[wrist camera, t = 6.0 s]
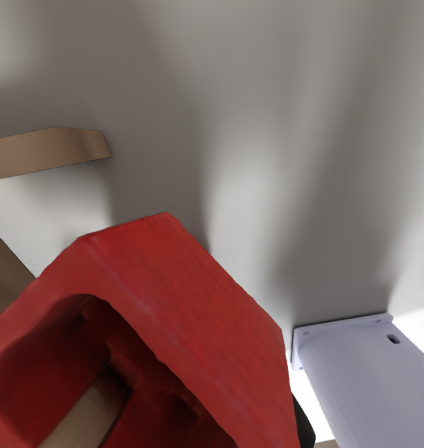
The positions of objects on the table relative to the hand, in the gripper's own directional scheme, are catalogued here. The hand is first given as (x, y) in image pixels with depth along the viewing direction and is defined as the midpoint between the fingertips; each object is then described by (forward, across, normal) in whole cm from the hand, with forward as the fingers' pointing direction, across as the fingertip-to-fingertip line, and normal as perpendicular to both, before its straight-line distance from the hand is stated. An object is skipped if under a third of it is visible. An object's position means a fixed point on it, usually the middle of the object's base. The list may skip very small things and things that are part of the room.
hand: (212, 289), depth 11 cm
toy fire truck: (+2, +3, 0) cm, 3 cm away
